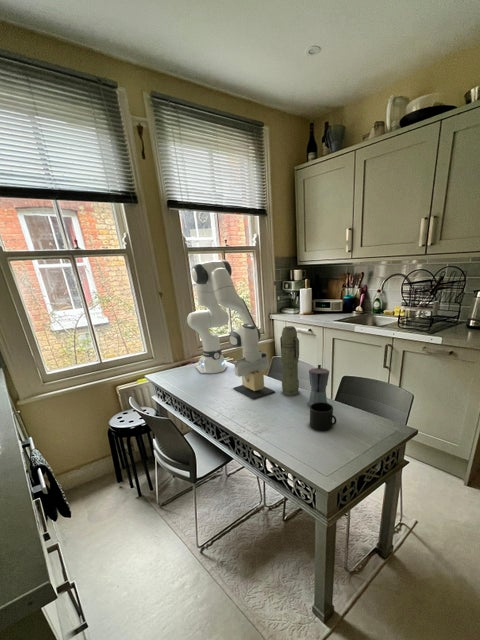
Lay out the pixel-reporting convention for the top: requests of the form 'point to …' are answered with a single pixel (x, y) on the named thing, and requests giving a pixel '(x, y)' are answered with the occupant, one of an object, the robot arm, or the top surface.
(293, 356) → the thermos
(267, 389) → the mat
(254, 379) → the toaster
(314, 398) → the moka pot
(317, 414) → the mug
